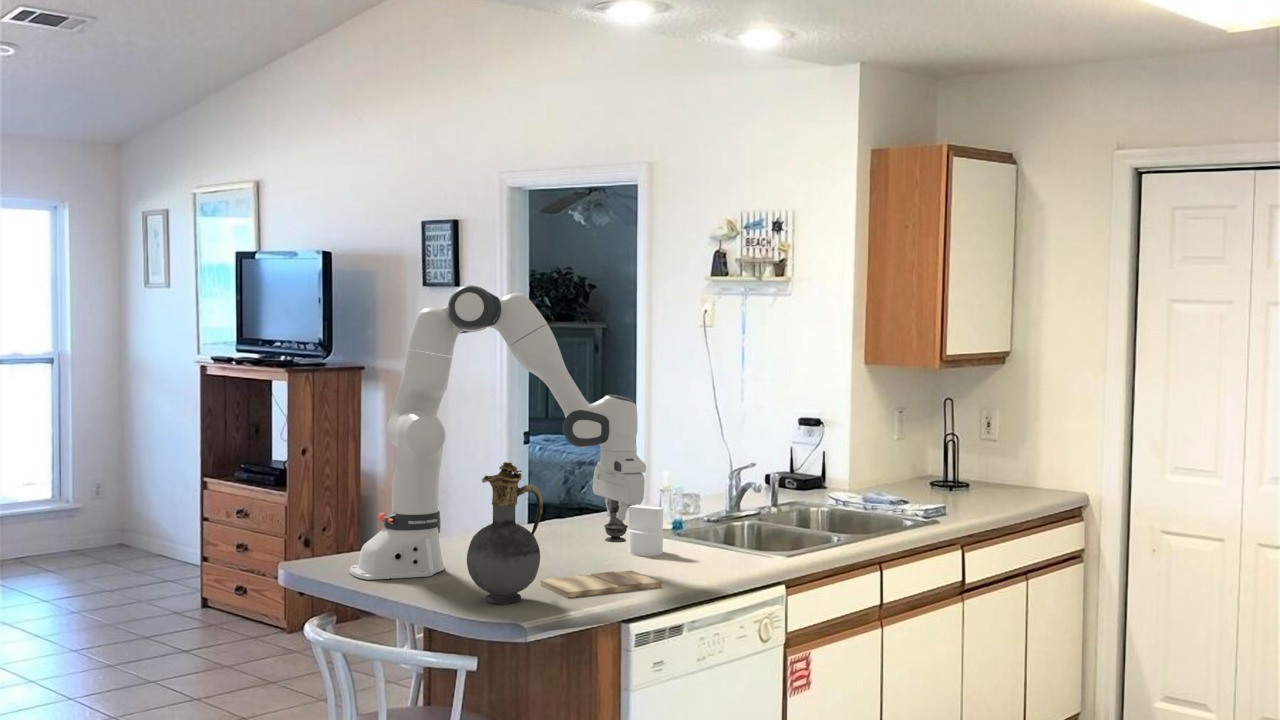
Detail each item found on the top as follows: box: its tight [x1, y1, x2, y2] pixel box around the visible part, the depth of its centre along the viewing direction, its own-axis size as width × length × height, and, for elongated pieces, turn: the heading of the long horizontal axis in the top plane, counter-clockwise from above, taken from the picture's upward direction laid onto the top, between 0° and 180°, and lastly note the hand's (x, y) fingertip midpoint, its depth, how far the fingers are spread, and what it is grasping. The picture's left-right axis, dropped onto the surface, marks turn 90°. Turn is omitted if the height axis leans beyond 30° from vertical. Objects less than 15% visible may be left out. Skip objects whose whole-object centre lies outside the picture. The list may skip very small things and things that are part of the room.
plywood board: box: [540, 570, 662, 599], centre depth 285 cm, size 24×14×1 cm, turn 120°
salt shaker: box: [603, 499, 629, 543], centre depth 303 cm, size 6×6×12 cm
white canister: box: [627, 505, 664, 557], centre depth 325 cm, size 9×9×12 cm
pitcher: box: [466, 461, 544, 605], centre depth 271 cm, size 11×19×30 cm, turn 138°
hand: (616, 518), depth 303 cm, fingers closed on salt shaker, 3 cm apart
